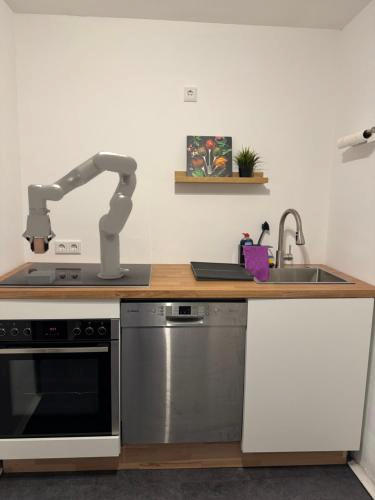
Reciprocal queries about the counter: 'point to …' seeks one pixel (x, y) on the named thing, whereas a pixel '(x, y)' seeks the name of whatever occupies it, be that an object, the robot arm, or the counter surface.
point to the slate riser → (41, 277)
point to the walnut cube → (31, 270)
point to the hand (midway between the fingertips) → (39, 250)
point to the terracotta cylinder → (39, 245)
